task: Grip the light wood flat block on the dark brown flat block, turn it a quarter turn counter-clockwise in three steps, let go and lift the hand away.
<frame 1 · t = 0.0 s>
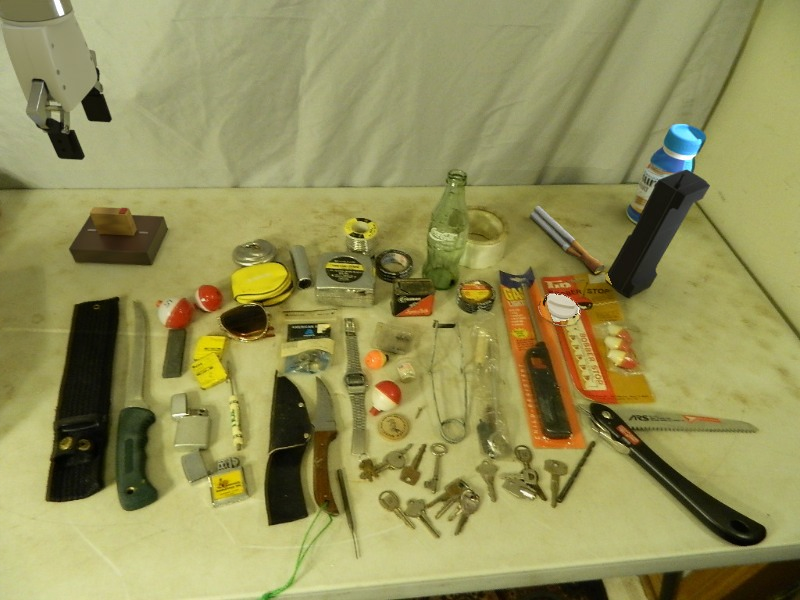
hand: (87, 138, 72), 26 cm above the table, tool pointing down, fingers open, 9 cm apart
beverage bottle: (644, 218, 113), on the table
black long block: (627, 282, 99), on the table
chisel: (563, 244, 105), on the table
light wood flat block: (113, 220, 92), point 5 cm above the table, hinge at 0.0°
stove knob: (558, 311, 92), on the table
dark brown flat block: (123, 244, 96), on the table
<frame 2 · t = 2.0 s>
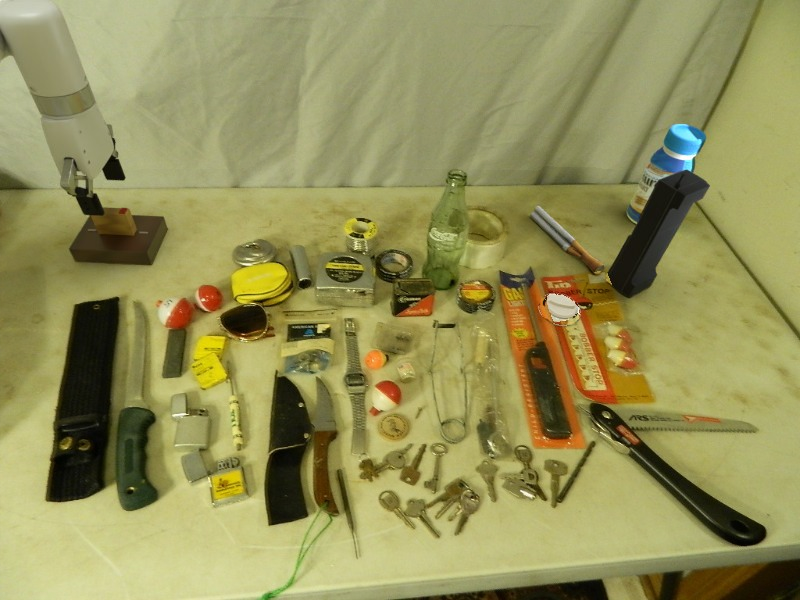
hand: (105, 196, 88), 11 cm above the table, tool pointing down, fingers open, 9 cm apart
nothing on the table moved.
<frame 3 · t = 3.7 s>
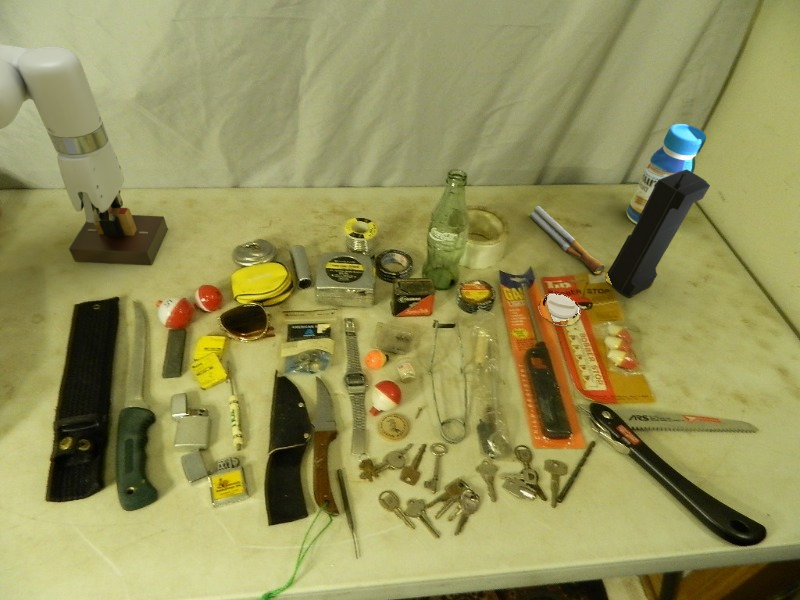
hand: (117, 230, 93), 3 cm above the table, tool pointing down, fingers closed on light wood flat block, 2 cm apart
light wood flat block: (113, 220, 92), point 5 cm above the table, hinge at 0.0°, touching gripper
everything else where it was.
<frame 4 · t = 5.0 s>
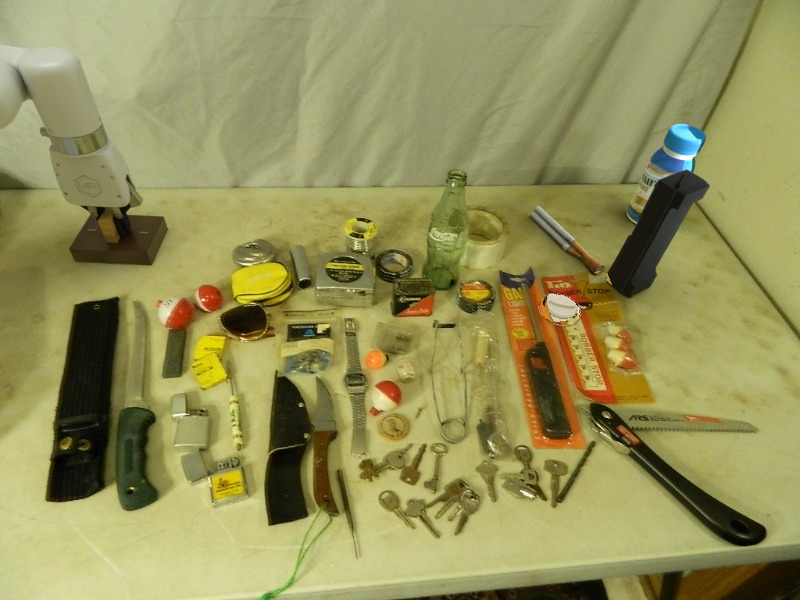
hand: (117, 230, 93), 3 cm above the table, tool pointing down, fingers closed on light wood flat block, 2 cm apart
light wood flat block: (113, 220, 92), point 5 cm above the table, hinge at 89.9°, touching gripper
everything else where it was.
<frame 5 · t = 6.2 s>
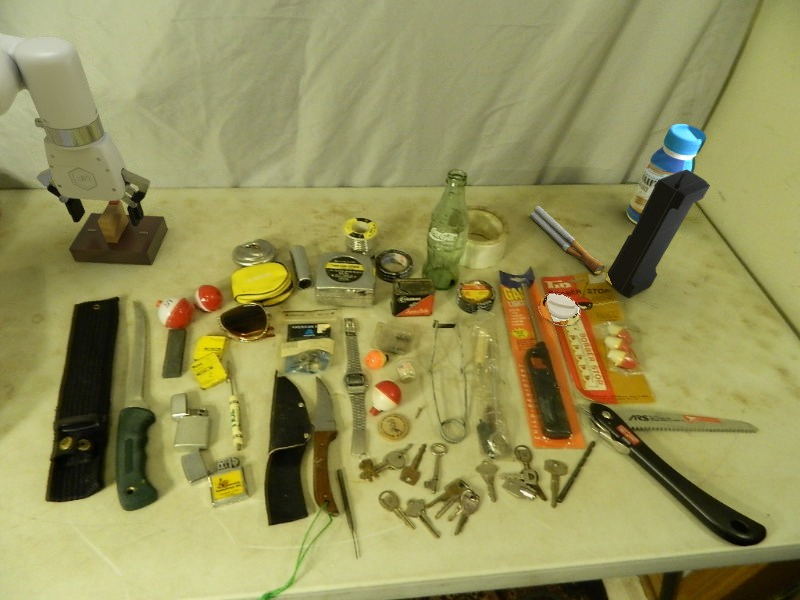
hand: (109, 219, 91), 6 cm above the table, tool pointing down, fingers open, 9 cm apart
light wood flat block: (113, 220, 92), point 5 cm above the table, hinge at 89.9°
everything else where it was.
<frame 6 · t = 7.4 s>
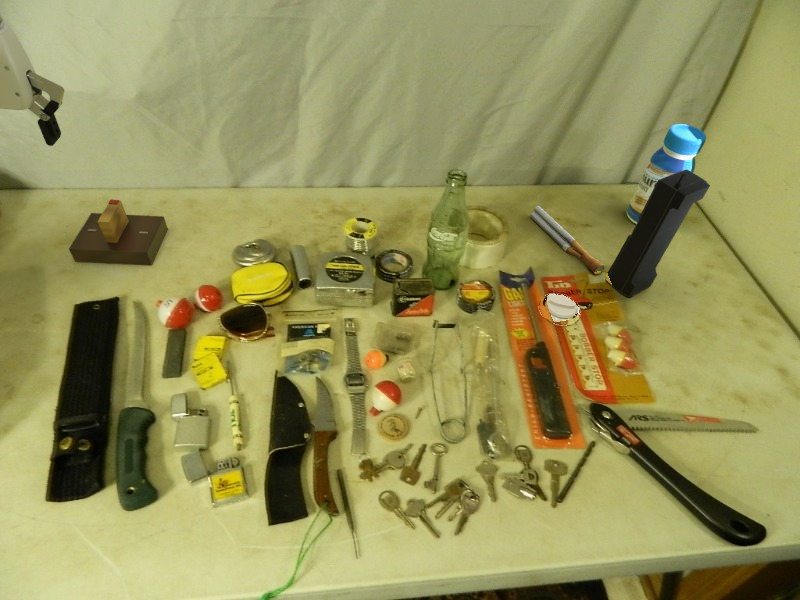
hand: (20, 138, 78), 22 cm above the table, tool pointing down, fingers open, 9 cm apart
nothing on the table moved.
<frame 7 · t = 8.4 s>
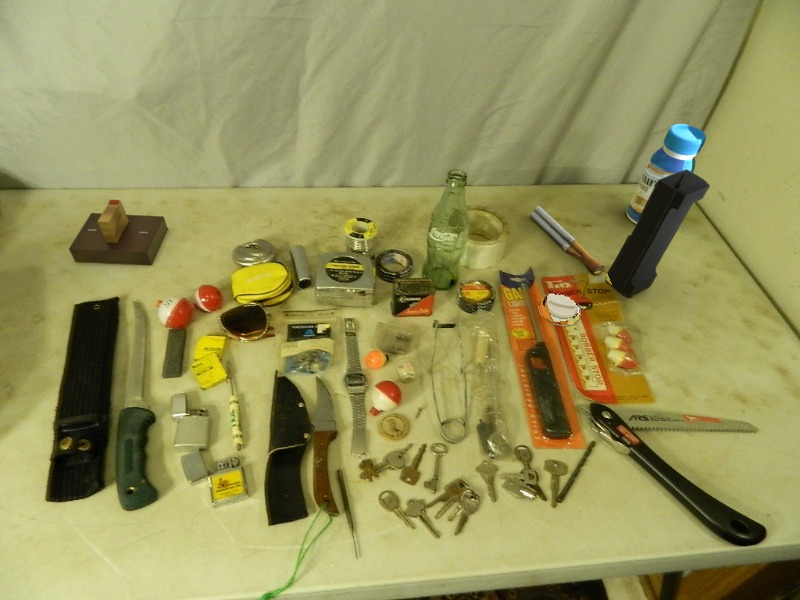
nothing on the table moved.
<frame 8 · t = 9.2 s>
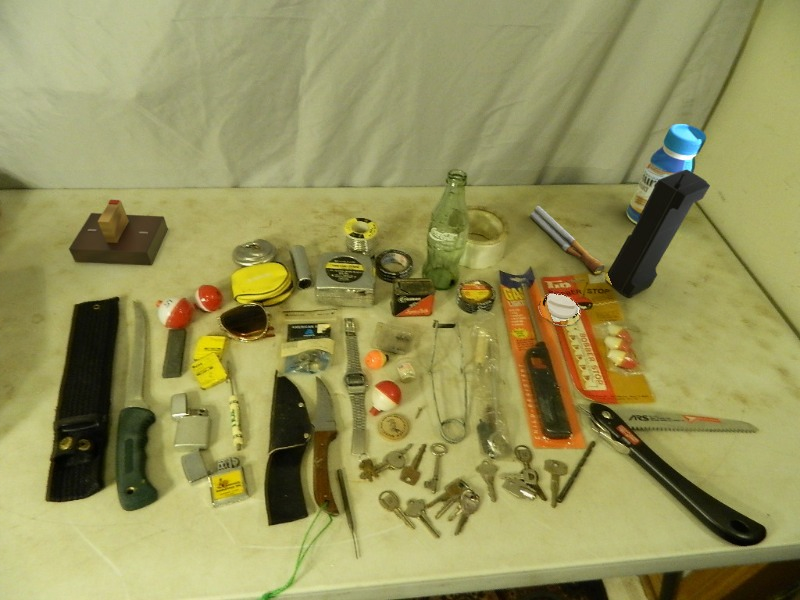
nothing on the table moved.
at the end: light wood flat block at +90° (first picture: +0°); the gripper is holding nothing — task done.
